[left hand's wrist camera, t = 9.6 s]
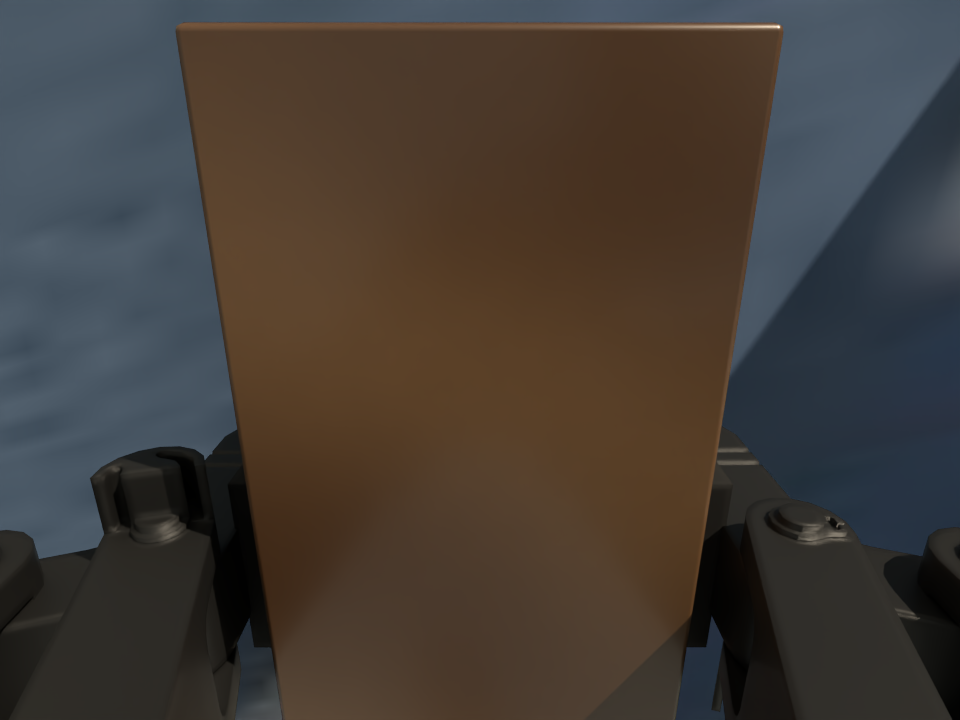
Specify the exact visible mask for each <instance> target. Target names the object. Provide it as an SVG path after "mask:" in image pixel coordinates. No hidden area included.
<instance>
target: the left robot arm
mask: <svg viewBox="0 0 960 720" xmlns="http://www.w3.org/2000/svg"><path fill="white" fill-rule="evenodd" d="M90 480H91V484H92V487H93V491H94V495H95V499H96V503H97V507H98V511H99V515H100V519H101V523H102V527H103V531H104V536H103V538H102V540H101V542H100V544H99V546H98V547H97V548H93V549H89V550H84V551H79V552H74V553H69V554H63V555H58V556H53V557H48V558H42V559H39V558H38V554H37V551H36V548H35V544H34V541H33V539H32V538H31V537H30V536H28V535H27V534H25V533H24V532H18V531H10V530H2V531H0V720H235V714H236V706H237V698H238V691H239V683H240V675H241V664H240V657H239V652H238V646H237V642H238V640H239V638H240V636H241V634H242V632H243V629H244V627H245V625H246V623H247V621H248V619H249V618H250V624H251V630H252V636H253V642H254V647H271V641H270V635H269V628H268V622H267V616H266V609H265V603H264V596H263V590H262V584H261V577H260V571H259V564H258V558H257V551H256V545H255V539H254V532H253V526H252V519H251V513H250V506H249V500H248V494H247V487H246V481H245V474H244V468H243V461H242V455H241V449H240V442H239V436H238V429H237V430H236V431H234V432H232V433H230V434H229V435H227V436H225V437H224V439H223V440H222V441H221V442H220V443H219V445H218V446H217V447H216V448H215V449H214V450H213V454H212V455H209V456H208V457H207V459H206V460H204V456H203V455H202V454H201V453H199V452H198V451H196V450H195V449H190V448H185V447H180V446H178V447H158V448H152V449H147V450H142V451H138V452H135V453H132V454H129V455H126V456H123V457H120V458H118V459H116V460H114V461H112V462H110V463H109V464H107V465H105V466H103V467H101V468H100V469H99V470H98V471H97V472H96V473H95V474H94V475H93V476H92V477H91V478H90ZM711 615H712V617H713V619H714V621H715V623H716V625H717V627H718V629H719V631H720V633H721V636H722V638H723V646H722V652H721V657H720V663H719V668H718V674H717V680H716V685H715V691H714V697H713V703H712V710H714V711H719V712H720V709H721V703H722V699H723V705H724V713H725V720H960V528H957V527H953V528H945V529H938V530H936V531H935V532H934V533H932V534H931V535H929V537H928V540H927V543H926V547H925V550H924V553H923V556H917V555H912V554H906V553H901V552H896V551H891V550H885V549H880V548H875V547H871V546H867V545H863V544H861V543H860V541H859V539H858V537H857V535H856V533H855V532H854V531H853V530H852V528H851V527H850V526H849V525H848V524H847V522H846V521H844V520H843V519H841V518H840V517H838V516H836V515H835V514H833V513H832V512H830V511H828V510H826V509H824V508H821V507H819V506H816V505H814V504H811V503H808V502H803V501H799V500H794V499H790V497H789V496H788V495H787V494H786V493H785V492H784V490H783V489H782V488H781V487H780V486H779V485H778V483H777V482H776V481H775V480H774V479H773V478H772V476H771V475H770V474H769V473H768V472H767V471H766V469H765V468H764V467H763V466H762V465H759V461H758V460H757V459H756V458H755V456H754V455H753V454H752V453H751V452H748V448H747V447H746V446H745V445H744V444H743V442H742V441H741V440H740V439H739V438H738V437H737V435H736V434H734V433H732V432H731V431H729V430H727V429H725V428H724V427H722V426H721V432H720V438H719V445H718V451H717V457H716V464H715V470H714V477H713V483H712V489H711V496H710V502H709V508H708V515H707V521H706V527H705V534H704V540H703V546H702V553H701V559H700V566H699V572H698V578H697V585H696V591H695V597H694V604H693V610H692V616H691V623H690V629H689V635H688V642H687V647H706V645H707V639H708V633H709V627H710V621H711Z"/></svg>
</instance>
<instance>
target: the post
mask: <svg viewBox="0 0 960 720" xmlns="http://www.w3.org/2000/svg"><path fill="white" fill-rule="evenodd" d="M176 37H177V44H178V50H179V57H180V63H181V70H182V76H183V82H184V89H185V95H186V102H187V108H188V115H189V121H190V127H191V134H192V140H193V147H194V153H195V160H196V166H197V172H198V179H199V185H200V192H201V198H202V204H203V211H204V217H205V224H206V230H207V237H208V243H209V249H210V256H211V262H212V269H213V275H214V282H215V288H216V294H217V301H218V307H219V314H220V320H221V327H222V333H223V339H224V346H225V352H226V359H227V365H228V372H229V378H230V384H231V391H232V397H233V404H234V410H235V417H236V423H237V429H238V436H239V442H240V449H241V455H242V461H243V468H244V474H245V481H246V487H247V494H248V500H249V506H250V513H251V519H252V526H253V532H254V539H255V545H256V551H257V558H258V564H259V571H260V577H261V584H262V590H263V596H264V603H265V609H266V616H267V622H268V628H269V635H270V641H271V648H272V654H273V661H274V667H275V673H276V680H277V686H278V693H279V699H280V706H281V712H282V718H283V720H675V718H676V712H677V705H678V699H679V693H680V686H681V680H682V674H683V667H684V661H685V655H686V648H687V642H688V635H689V629H690V623H691V616H692V610H693V604H694V597H695V591H696V585H697V578H698V572H699V566H700V559H701V553H702V546H703V540H704V534H705V527H706V521H707V515H708V508H709V502H710V496H711V489H712V483H713V477H714V470H715V464H716V457H717V451H718V445H719V438H720V432H721V426H722V419H723V413H724V407H725V400H726V394H727V387H728V381H729V375H730V368H731V362H732V356H733V349H734V343H735V337H736V330H737V324H738V318H739V311H740V305H741V298H742V292H743V286H744V279H745V273H746V267H747V260H748V254H749V248H750V241H751V235H752V229H753V222H754V216H755V209H756V203H757V197H758V190H759V184H760V178H761V171H762V165H763V159H764V152H765V146H766V140H767V133H768V127H769V120H770V114H771V108H772V101H773V95H774V89H775V82H776V76H777V70H778V63H779V57H780V50H781V44H782V38H783V26H781V25H779V24H777V23H316V22H184V23H182V24H180V25H178V26H176Z"/></svg>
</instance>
